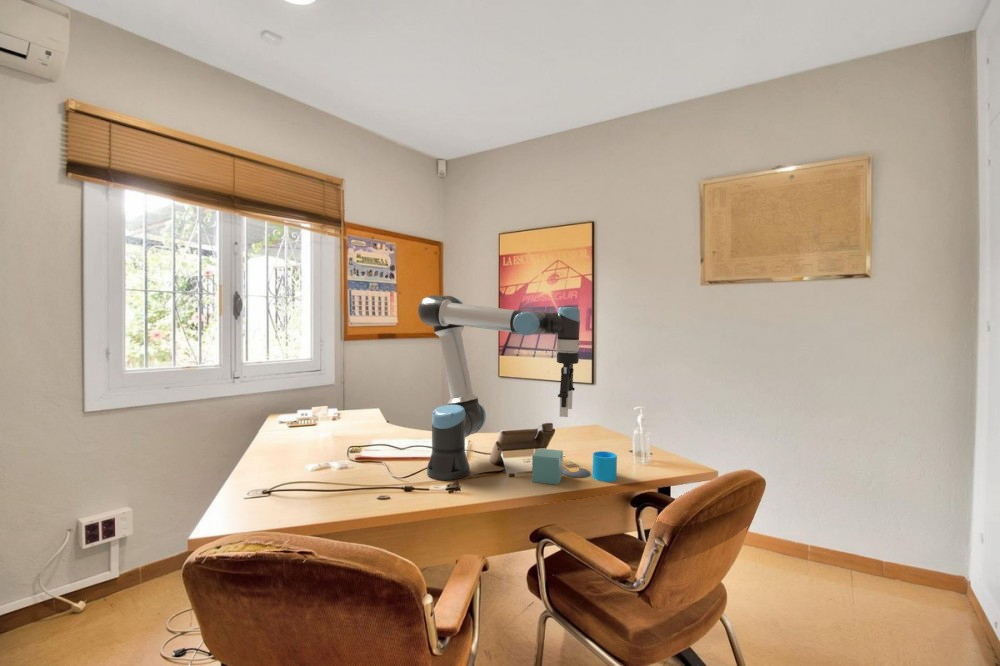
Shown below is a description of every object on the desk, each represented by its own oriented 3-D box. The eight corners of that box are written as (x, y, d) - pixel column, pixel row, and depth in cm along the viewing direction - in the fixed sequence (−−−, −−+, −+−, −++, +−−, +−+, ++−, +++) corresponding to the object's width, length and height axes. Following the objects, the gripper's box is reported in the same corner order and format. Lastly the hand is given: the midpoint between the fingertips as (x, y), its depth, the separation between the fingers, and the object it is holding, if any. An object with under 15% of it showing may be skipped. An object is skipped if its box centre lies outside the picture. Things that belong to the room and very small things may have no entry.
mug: (619, 481, 159) (619, 458, 158) (595, 482, 158) (596, 458, 158) (609, 470, 171) (610, 448, 170) (587, 470, 170) (588, 448, 170)
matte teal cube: (532, 481, 158) (532, 455, 158) (537, 473, 167) (537, 448, 166) (558, 484, 155) (558, 458, 155) (562, 475, 164) (562, 450, 164)
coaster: (559, 476, 164) (559, 474, 164) (563, 467, 174) (563, 466, 173) (588, 479, 161) (588, 477, 161) (590, 469, 171) (590, 468, 171)
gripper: (575, 355, 148) (573, 421, 149) (581, 349, 173) (579, 406, 174) (552, 354, 150) (550, 419, 151) (561, 348, 174) (559, 405, 175)
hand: (566, 412), depth 162 cm, fingers open, 13 cm apart
